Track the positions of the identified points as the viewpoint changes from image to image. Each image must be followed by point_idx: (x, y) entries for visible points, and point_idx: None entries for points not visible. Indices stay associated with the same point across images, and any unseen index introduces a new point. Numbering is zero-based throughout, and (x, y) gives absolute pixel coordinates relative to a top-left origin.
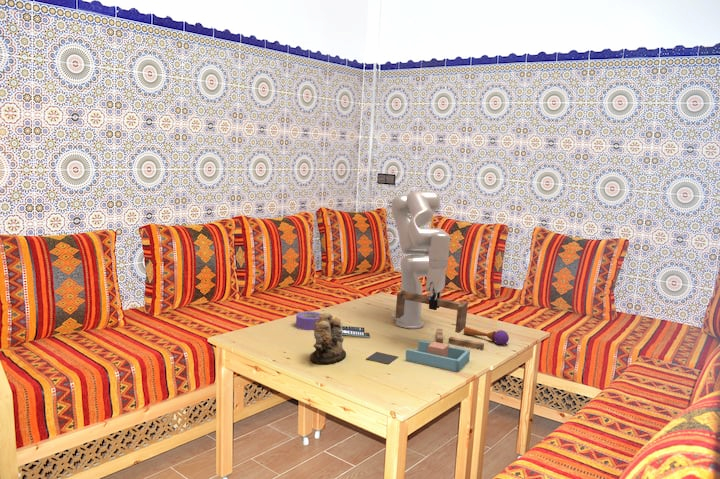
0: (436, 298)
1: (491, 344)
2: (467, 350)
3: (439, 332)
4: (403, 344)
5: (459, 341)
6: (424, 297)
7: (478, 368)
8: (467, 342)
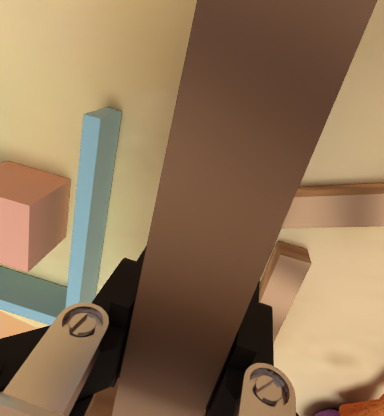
0: (86, 400)
1: (315, 391)
2: None
3: (379, 208)
4: (177, 8)
5: (261, 295)
6: (151, 231)
7: (42, 324)
8: None
